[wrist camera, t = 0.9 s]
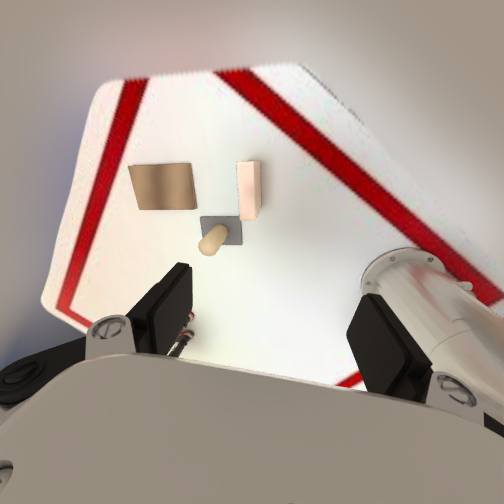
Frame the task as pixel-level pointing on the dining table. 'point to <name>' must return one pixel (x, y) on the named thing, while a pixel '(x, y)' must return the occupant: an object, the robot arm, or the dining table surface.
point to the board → (163, 187)
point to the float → (219, 233)
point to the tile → (249, 189)
